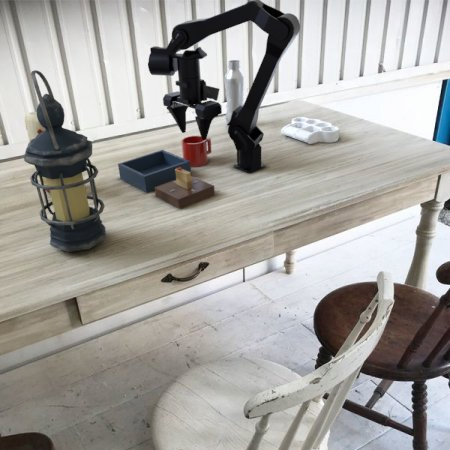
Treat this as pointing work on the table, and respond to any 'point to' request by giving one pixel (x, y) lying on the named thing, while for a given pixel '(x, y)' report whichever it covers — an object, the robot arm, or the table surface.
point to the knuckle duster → (311, 130)
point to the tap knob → (183, 178)
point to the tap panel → (184, 192)
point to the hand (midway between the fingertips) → (193, 136)
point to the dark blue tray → (152, 169)
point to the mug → (196, 150)
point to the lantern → (64, 177)
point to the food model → (34, 132)
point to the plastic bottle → (234, 87)
